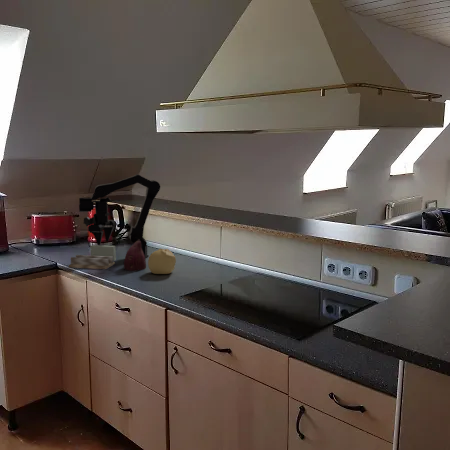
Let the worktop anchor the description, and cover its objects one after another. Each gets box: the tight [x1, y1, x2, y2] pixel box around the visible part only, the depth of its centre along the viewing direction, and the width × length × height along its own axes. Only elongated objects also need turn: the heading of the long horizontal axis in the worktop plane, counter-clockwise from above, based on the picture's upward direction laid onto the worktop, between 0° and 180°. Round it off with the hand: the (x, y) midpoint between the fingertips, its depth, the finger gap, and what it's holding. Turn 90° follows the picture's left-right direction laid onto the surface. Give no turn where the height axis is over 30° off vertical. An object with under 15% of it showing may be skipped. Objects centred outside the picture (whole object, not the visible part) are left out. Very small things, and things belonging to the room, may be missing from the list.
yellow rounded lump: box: [147, 248, 177, 275], centre depth 210 cm, size 11×12×11 cm
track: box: [68, 254, 116, 270], centre depth 223 cm, size 18×10×4 cm, turn 79°
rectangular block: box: [89, 244, 117, 262], centre depth 235 cm, size 12×2×7 cm, turn 79°
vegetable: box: [123, 240, 147, 272], centre depth 218 cm, size 10×10×15 cm
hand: (103, 243), depth 234 cm, fingers open, 9 cm apart
